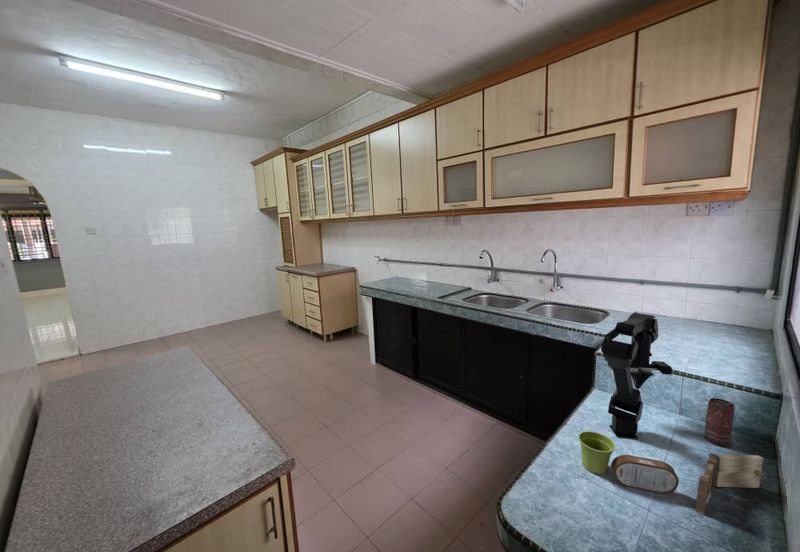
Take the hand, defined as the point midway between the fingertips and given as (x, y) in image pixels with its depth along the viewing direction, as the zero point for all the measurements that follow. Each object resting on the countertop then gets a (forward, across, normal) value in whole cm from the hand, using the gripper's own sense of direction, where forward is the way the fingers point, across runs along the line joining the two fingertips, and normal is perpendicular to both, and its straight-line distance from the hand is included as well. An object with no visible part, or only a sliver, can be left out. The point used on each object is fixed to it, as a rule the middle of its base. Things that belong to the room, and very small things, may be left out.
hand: (637, 388), depth 120 cm
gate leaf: (+12, -10, +32) cm, 35 cm away
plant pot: (+12, +24, +30) cm, 40 cm away
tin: (+12, +14, +36) cm, 41 cm away
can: (+12, -20, +10) cm, 25 cm away
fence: (+12, +1, +38) cm, 40 cm away
